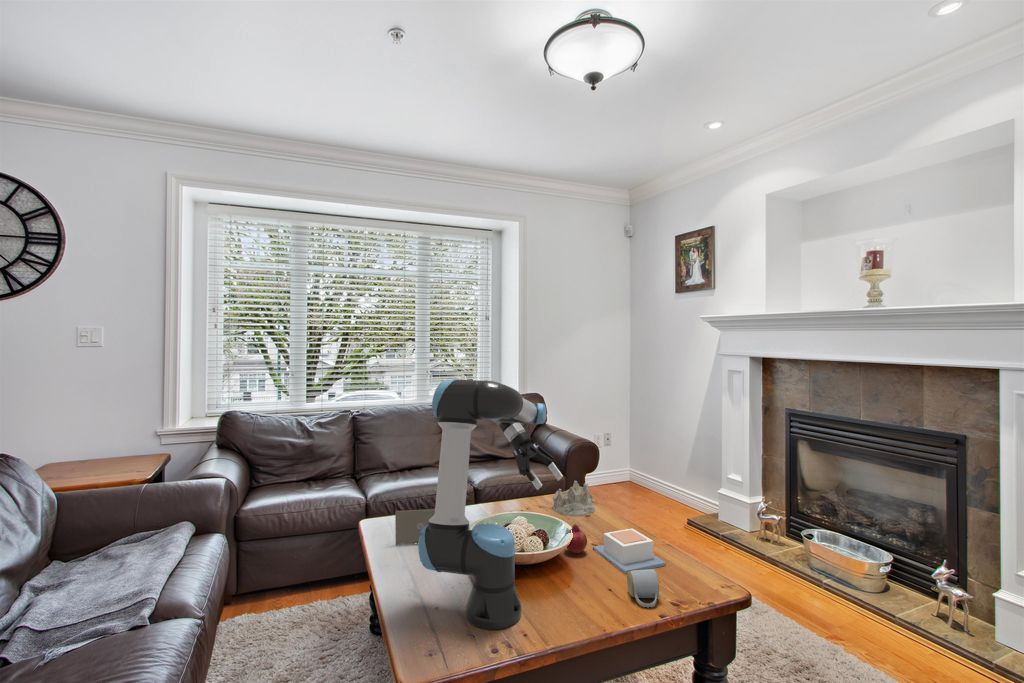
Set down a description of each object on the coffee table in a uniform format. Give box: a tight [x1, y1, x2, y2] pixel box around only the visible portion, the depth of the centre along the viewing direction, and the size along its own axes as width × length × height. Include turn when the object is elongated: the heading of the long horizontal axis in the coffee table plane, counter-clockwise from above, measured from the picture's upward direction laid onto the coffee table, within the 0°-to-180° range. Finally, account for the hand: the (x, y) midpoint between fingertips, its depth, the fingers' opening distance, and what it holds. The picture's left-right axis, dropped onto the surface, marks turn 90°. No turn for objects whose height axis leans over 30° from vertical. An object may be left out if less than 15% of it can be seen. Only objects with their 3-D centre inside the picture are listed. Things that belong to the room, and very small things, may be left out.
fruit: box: [565, 523, 588, 554], centre depth 176 cm, size 8×8×10 cm
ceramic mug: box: [626, 568, 660, 609], centre depth 145 cm, size 11×8×8 cm
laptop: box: [394, 508, 435, 546], centre depth 190 cm, size 18×12×13 cm
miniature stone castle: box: [552, 480, 596, 518], centre depth 220 cm, size 16×16×15 cm
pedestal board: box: [592, 528, 667, 575], centre depth 173 cm, size 20×16×7 cm
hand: (550, 482), depth 183 cm, fingers open, 13 cm apart
